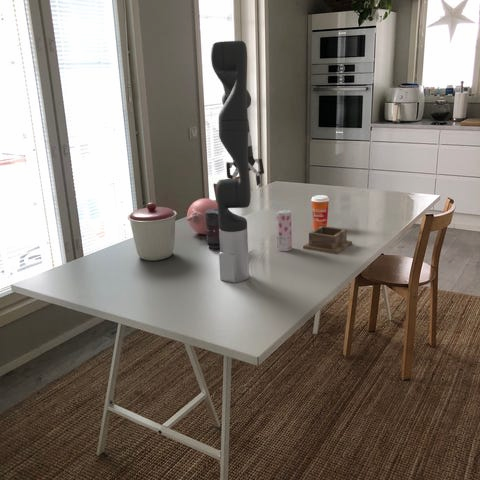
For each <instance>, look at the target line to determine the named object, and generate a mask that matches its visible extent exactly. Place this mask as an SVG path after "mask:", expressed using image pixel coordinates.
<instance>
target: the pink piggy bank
mask: <svg viewBox="0 0 480 480" xmlns="http://www.w3.org/2000/svg"><path fill="white" fill-rule="evenodd" d="M211 209H218V206H217V201H215V200H214V199H210V198H199V199H197V200H195V201H193V202H192V204H191V205H190V206H189V208H188V209H187V214H186V221H187V222H188V225H189V226H190V229H192V230H193V231H194V232H195V233H197V234H199V235H206V236H207V233H206V220H205V215H206V211H207V210H211Z"/></svg>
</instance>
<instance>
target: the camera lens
mask: <svg viewBox="0 0 480 480" xmlns="http://www.w3.org/2000/svg"><path fill="white" fill-rule="evenodd" d="M205 220H206V233H207V235H206V243H207V246H208V249H209V250H211V251H216V252H217V251H220V236H219V217H218V209H211V210H207V211H206V215H205Z"/></svg>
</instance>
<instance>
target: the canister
mask: <svg viewBox="0 0 480 480" xmlns="http://www.w3.org/2000/svg"><path fill="white" fill-rule="evenodd" d="M177 215H178V213H177V212H176V210H173V209H172V208H170V207H166V206H165V207H164V206H157V204H156V203H155V202H154V201H153V202H148V203H147V204H146V207H144V208H139V209H136V210H134V211H132V212H131V213H130V214H128V216H127V220H128V221H129V222H130V228H131V231H132V232H131V233H132V237H133V240H134V245H135V249H136V252H137V255H138V256H139V257H140V259H143V260H144V261H145V260H146V261H162V260H165V259H167V258H170V257H171V256H172V255H173V254H174V250H175V233H176V230H175V229H176V216H177Z"/></svg>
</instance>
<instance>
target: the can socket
mask: <svg viewBox="0 0 480 480" xmlns="http://www.w3.org/2000/svg"><path fill="white" fill-rule="evenodd" d="M347 231H348V230H347V228H339V227H331V226H327V227H326V226H320V227H319V228H317V229H313V230H311V231H310V232H308V242H307V243H306V244H304V245H303V246H302V249H304V250H311V251H316V252H323V253H329V254H333V253H334V254H335V255H338V254H339V253H340V252H342V251H344V250H345V249H346V248H348V247H349V246H350V245H352V244H353V243H352V242H353V240H347V238H348V237H347V235H348V234H347Z"/></svg>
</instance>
